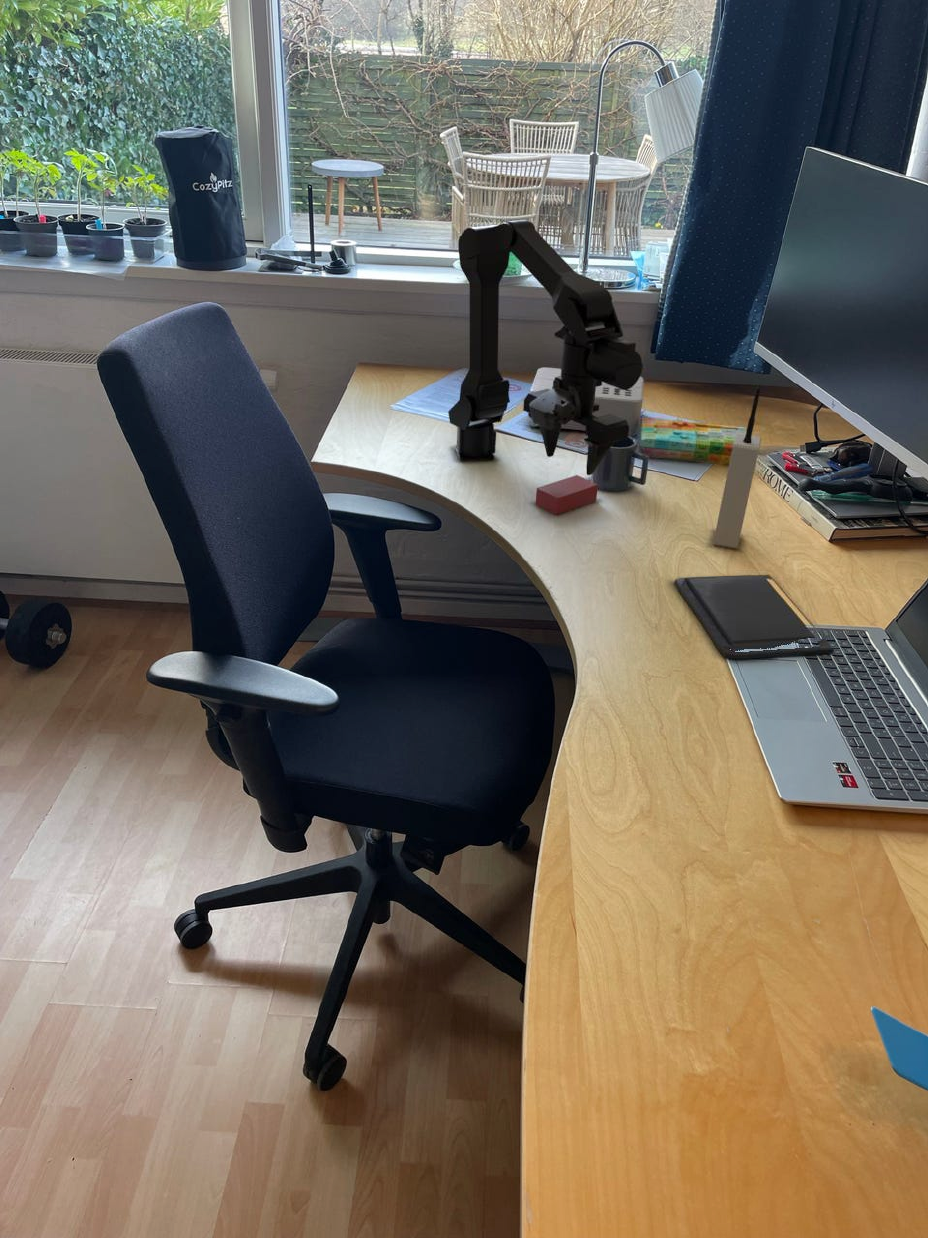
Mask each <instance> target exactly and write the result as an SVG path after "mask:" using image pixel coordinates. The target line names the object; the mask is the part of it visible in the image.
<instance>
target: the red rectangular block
mask: <svg viewBox="0 0 928 1238" xmlns="http://www.w3.org/2000/svg"><path fill="white" fill-rule="evenodd" d="M598 490H599V489H598V484H596V483H593V482H591V480H590V479H587V478H585V477H583V476H581V475H578V474H576V475H572V476H570V477H566V478H564V479H560V480H556V481H553V482H551V483H548V484H543V485H542V486H539V487H536V493H535V494H536V495H535V505H536V506H538V507H540V508H542V509H544V510H546V511H548V512H549V513H552V514H553V515H556V516H557V515H559V514H562V513H565V512H569V511H571V510H574V509H577V508H580V507H583V506H587V505H589V504H591V503H594V502H597V499H598V498H597V497H598Z"/></svg>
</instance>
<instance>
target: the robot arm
mask: <svg viewBox="0 0 928 1238" xmlns="http://www.w3.org/2000/svg"><path fill="white" fill-rule="evenodd" d="M457 243H458V244H457V248H458V257H459V259H458V260H459V266H460V269H461V270H462V272H463V275H464V277H465V278H466V279H467V282H468V285H469V367H468V370H467V372H466V374H465V376H464V378H463V381H462V382H461V383H460V384H461V385H460V392H459V400H458V401H457V402H456V403H455V404H454V405H453V406H452V407H450V409H449V410H448V412H447V413H448V419H449V423H450V424H451V425H454V426H455V427H457V428H456V444H455V445H454V450H455V453H456V455H457V457H458V460H459V461H461V462H462V461H463V462H465V461H493V460H495V456H494V454H495V453H496V448H497V447H496V445H497V444H496V443H497V431H496V429H495V428H494V427H495V423H501V422H502V420H503V416H504V414H505V412H506V411H507V410H508V405H509V403H511V400H510V386H511V385H510V381H509V380H508V379H504V376H502V374H501V372H500V370H499V317H500V316H499V314H500V313H499V312H500V308H499V307H500V305H499V304H500V302H499V301H500V283H501V280H503V277H504V275H505V273H506V271H507V269H508V267H509V263H510V256H511V254H512V255H513V256H514V257H515V258H516V259H517V260H518V261H519V262H520V263H521V265H523V267H525V269H526V270H527V271H528V272H529V273H530V275H532V276H533V277H534V278H535V280H536V281H537V283H539V284H540V285H541V286H542V288H544V289H545V290H546V292H547V293H548V295H549V296H550V297H551V300H552V301H551V303H552V309H553V311H554V312H555V314H556V316H557V317H558V319H559V321H561V323H562V326H561V327H560V328H559V329H557V330H556V331H555V332H554V333H553V335H554V337H555V338H558V339H560V340H563V346H562V355H561V358H562V359H561V367H560V369H561V376H558V377H555V380H554V381H553V387H552V389H551V390H550V389H544V390H540V391H536V392H532V393H530V392H528V393H527V395H526V396H524V399H523V404H522V405H523V407H522V408H523V409H522V411H523V412H525V413H527V416H529V417H530V418H532V421H533V423H535V424H538V425H539V426H538V428H539V430H540V433H541V437H542V441H543V444H544V449H545V453H546V457H548V458H551V457H553V456H554V454H555V452H556V449H557V446H558V442H559V437H560V432H561V429H562V428H561V425H562V424H563V425H565V424H566V423H568V422H569V421H571V420H572V421H575V422H577V423H580V424H582V425H584V426H586V431H585V430H584V432H585V435H586V437H585V438H583V441H584V442H585V444H586V445H587V456H586V468H585V469H586V475H587V476H592V474H593V473H594V471H595V469H596V468H597V466H598V465H599V463H600V462H601V460H602V458H603V457H604V455H605V454H606V452H607V451H608V450H609V448H610V447H611V446H612V445H613V443H614V442H616V441H619V440H621V439H624V438H627V437H628V433H629V423H628V422H627V420H625V419H623V418H620V417H618V416H615V415H613V414H607V415H603V416H600V417H596V416H593V415H592V414H593V412H596V411H599V404H597V403H594V401H595V392H596V387H598V386H601V385H602V382H603V383H606V384H609V385H611V386H614V387H616V388H619V389H622V390H628V389H630V388H631V387H633V386H634V385H635V384H636V382H637V381H638V379H639V378H640V377H641V375H642V373H643V367H644V364H643V360H642V356H641V355H640V353H639V352H637V351H636V349H637V348H636V347H637V343H636V342H634V341H631V340H625V339H621V338H623V336H624V332H623V330H622V326H621V322H620V321H619V318H618V316H617V312H616V309H615V306H614V304H613V297H612V295H611V293H610V291H609V290H608V289H607V288H606V287H604V286H603V285H601V284H600V283H599V282H597V281H596V280H594V279H593V278H590V277H588V276H586V275H585V276H584V275H582V274H579V273H578V272H577V271H575V270H574V269H573V267H571V266H570V265H569V264H568V262H566V261H565V260H564V258H563V257H562V256H561V255H560V254H559V253H558V252H557V251H556V250H555V249H554V248H553V246H551V245H550V243H548V241H546V240H545V238H543V236H542V235H541V234H540V233H539V232H538V231H537V230H536V226H535V224H534V223H533V222H532V221H530V220H528V219H518V220H517V219H515V220H507V221H505V222H504V223H501V224H494V225H493V224H492V225H484V226H475V227H474V226H471V227H466V228H465V229H464V230H463V231H462V233H461V234H460V235H459V237H458V242H457ZM599 326H600V328H595V327H599ZM601 326H604V327H601ZM589 328H593V329H589ZM594 328H595V329H594ZM587 329H589V330H587Z"/></svg>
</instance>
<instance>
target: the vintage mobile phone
mask: <svg viewBox="0 0 928 1238" xmlns="http://www.w3.org/2000/svg"><path fill="white" fill-rule="evenodd" d="M761 390H762V388H761V387H760V386H757V387H756V389H755V391H754V392H755V393H754V398H753V403H752V407H751V411H750V416H749V419H748V422H747V427H746V430H747V431H746V435H745V434H738V433H737V434H736V436H735V440H734V444H733V448H732V453H731V458H730V461H728V469H727V473H726V477H725V482H724V487H723V492H722V497H721V503H720V507H719V511H718V512H719V513H718V517H717V521H716V526H715V532H714V537H713V542H712V545H714V546H716V547H717V546H718V547H722V548H729V549H734V550H737V549H738V548H739V543H740V538H741V534H742V529H743V525H744V520H745V515H746V511H747V507H748V503H749V502H748V501H749V498H750V493H751V488H752V485H753V479H754V475H755V470H756V466H757V460H758V458H759V457H758V455H759V452H760V447H761V442H762V436H757V435H753V431H754V426H755V423H756V422H755V421H756V412H757V409H758V403H759V398H760V394H761Z"/></svg>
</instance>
